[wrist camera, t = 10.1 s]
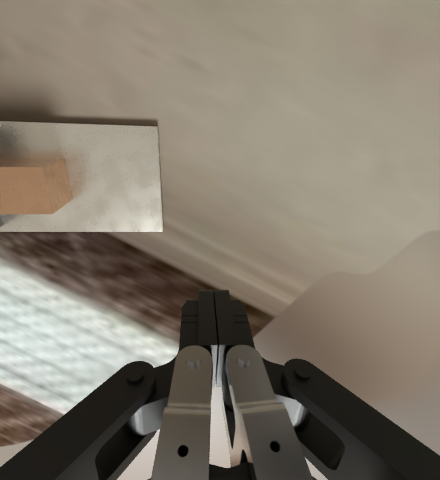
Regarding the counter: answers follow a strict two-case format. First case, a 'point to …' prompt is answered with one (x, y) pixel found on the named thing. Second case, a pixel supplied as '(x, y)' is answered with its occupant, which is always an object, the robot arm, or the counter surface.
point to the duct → (33, 185)
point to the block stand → (92, 175)
